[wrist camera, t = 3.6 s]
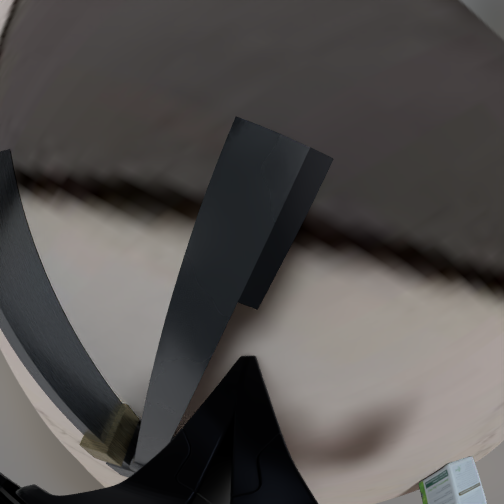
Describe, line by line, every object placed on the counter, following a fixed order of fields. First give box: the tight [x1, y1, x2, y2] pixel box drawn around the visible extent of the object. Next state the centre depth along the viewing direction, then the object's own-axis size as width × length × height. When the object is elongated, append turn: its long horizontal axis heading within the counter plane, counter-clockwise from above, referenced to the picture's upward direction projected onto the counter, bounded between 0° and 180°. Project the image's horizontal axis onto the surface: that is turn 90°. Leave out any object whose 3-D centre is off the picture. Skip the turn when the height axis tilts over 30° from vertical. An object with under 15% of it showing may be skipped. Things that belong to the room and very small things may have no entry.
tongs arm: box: [129, 117, 333, 472], centre depth 9 cm, size 17×2×3 cm, turn 158°
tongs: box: [0, 149, 173, 477], centre depth 9 cm, size 20×5×4 cm, turn 9°
